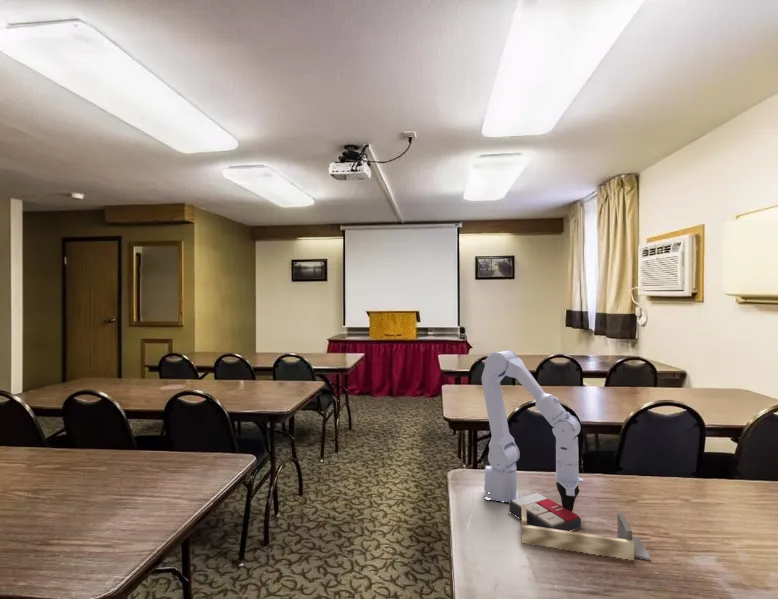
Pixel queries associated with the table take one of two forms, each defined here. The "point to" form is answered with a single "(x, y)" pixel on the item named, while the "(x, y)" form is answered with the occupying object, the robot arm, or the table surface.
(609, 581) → the table surface
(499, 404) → the robot arm
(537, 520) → the calculator
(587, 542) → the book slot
